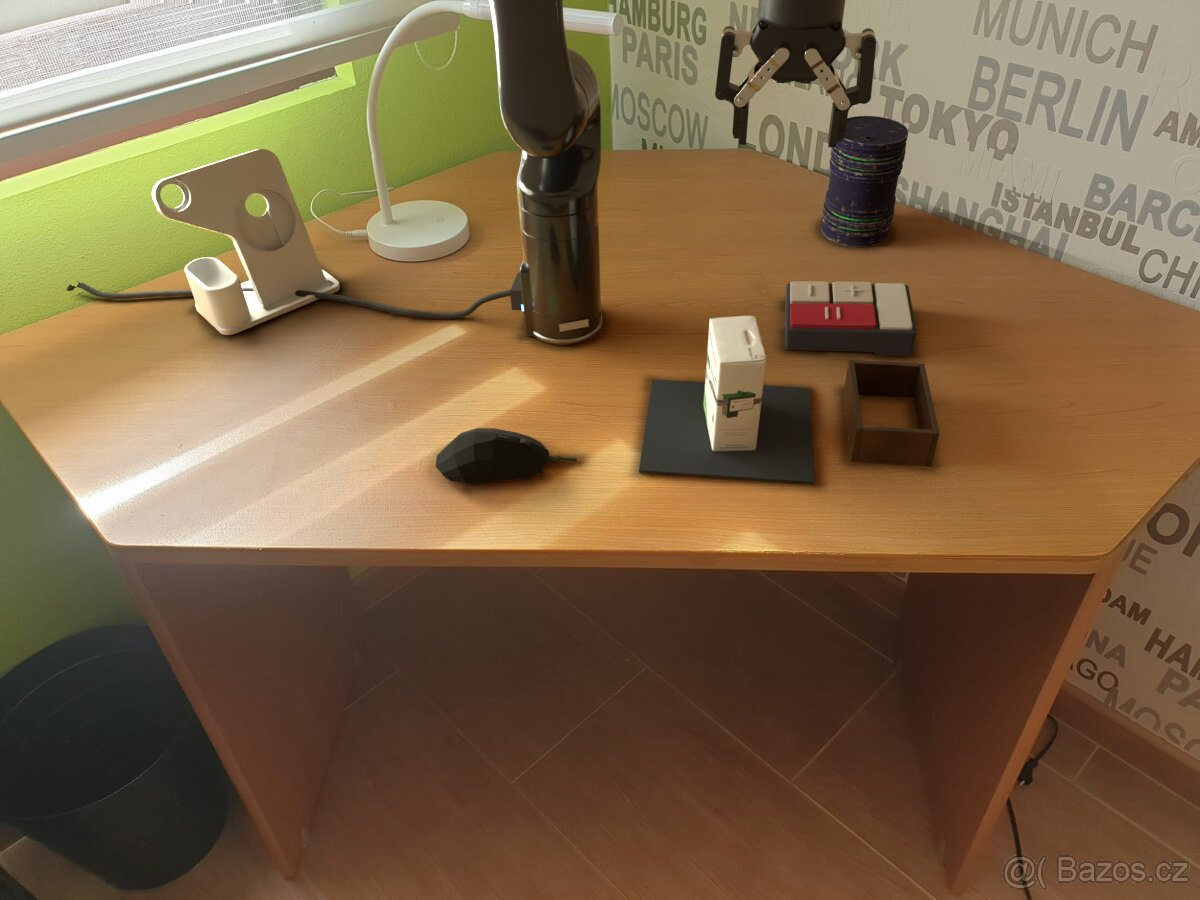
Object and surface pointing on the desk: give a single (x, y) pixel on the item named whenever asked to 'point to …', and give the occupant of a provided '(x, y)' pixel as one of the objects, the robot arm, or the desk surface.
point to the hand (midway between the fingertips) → (786, 143)
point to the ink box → (734, 383)
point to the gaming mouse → (493, 457)
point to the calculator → (849, 317)
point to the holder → (890, 441)
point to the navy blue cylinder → (864, 181)
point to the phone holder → (247, 241)
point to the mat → (686, 451)
